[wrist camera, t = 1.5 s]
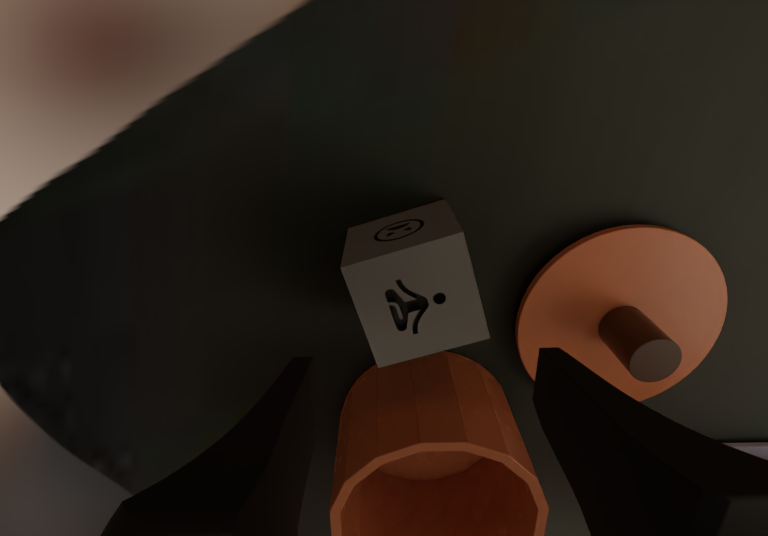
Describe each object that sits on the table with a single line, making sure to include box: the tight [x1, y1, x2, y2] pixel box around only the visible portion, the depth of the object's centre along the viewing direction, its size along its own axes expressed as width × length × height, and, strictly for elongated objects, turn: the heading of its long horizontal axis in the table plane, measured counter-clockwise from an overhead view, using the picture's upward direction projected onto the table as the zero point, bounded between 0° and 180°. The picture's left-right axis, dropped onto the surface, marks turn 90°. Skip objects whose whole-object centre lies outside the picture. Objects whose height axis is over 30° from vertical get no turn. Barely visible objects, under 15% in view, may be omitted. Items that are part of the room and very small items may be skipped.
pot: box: [330, 351, 549, 536], centre depth 24 cm, size 10×10×7 cm
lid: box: [515, 224, 728, 402], centre depth 23 cm, size 11×11×4 cm
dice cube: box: [340, 199, 490, 368], centre depth 21 cm, size 5×5×5 cm
